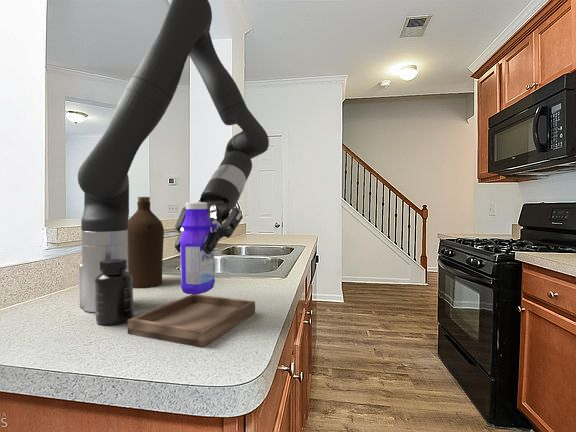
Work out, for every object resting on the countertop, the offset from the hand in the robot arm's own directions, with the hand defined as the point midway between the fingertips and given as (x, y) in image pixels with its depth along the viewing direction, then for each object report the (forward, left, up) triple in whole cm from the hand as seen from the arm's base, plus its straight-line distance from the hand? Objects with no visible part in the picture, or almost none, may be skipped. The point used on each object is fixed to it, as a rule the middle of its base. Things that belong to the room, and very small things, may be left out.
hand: (192, 250), depth 66 cm
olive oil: (-33, +23, -15) cm, 43 cm away
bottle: (0, +2, -8) cm, 9 cm away
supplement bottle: (-16, -3, -15) cm, 22 cm away
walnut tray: (0, +2, -14) cm, 15 cm away
